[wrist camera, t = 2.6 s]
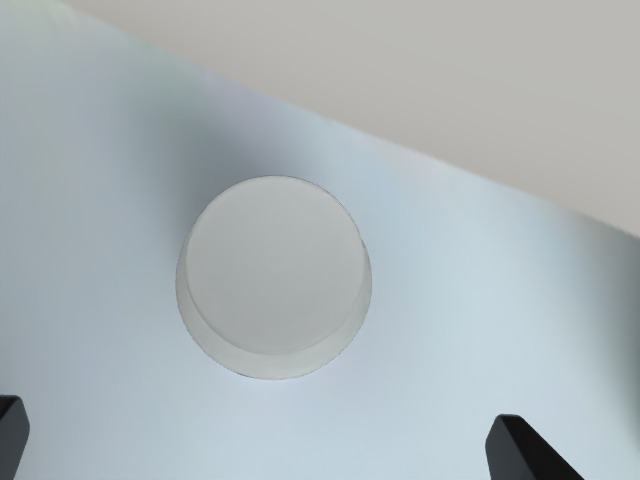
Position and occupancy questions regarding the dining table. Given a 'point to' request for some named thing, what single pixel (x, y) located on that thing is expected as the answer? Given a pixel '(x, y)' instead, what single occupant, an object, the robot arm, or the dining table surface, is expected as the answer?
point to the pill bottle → (273, 278)
